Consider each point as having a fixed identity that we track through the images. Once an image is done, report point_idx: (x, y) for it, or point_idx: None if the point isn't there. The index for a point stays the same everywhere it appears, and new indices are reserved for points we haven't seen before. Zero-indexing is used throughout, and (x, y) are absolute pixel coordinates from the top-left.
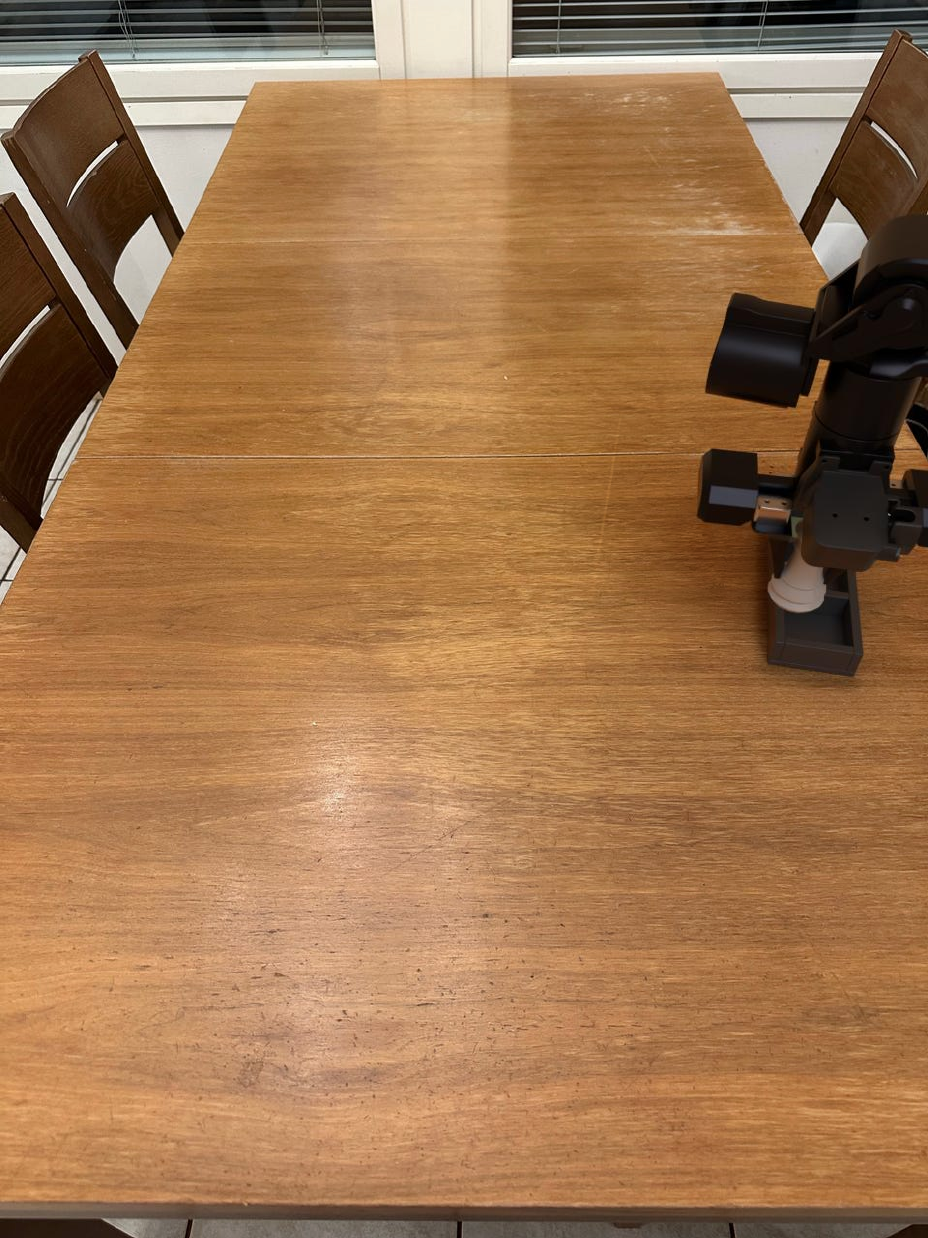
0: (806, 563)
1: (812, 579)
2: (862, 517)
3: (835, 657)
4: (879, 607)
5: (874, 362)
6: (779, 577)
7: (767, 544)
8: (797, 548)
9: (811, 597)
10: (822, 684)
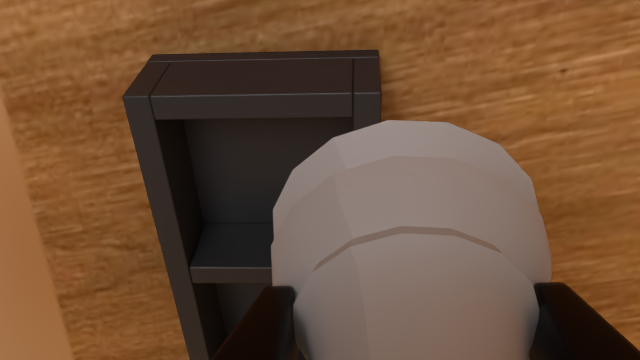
0: None
1: (376, 304)
2: None
3: (201, 82)
4: (127, 261)
5: None
6: (546, 291)
7: None
8: None
9: (352, 197)
10: (227, 11)
